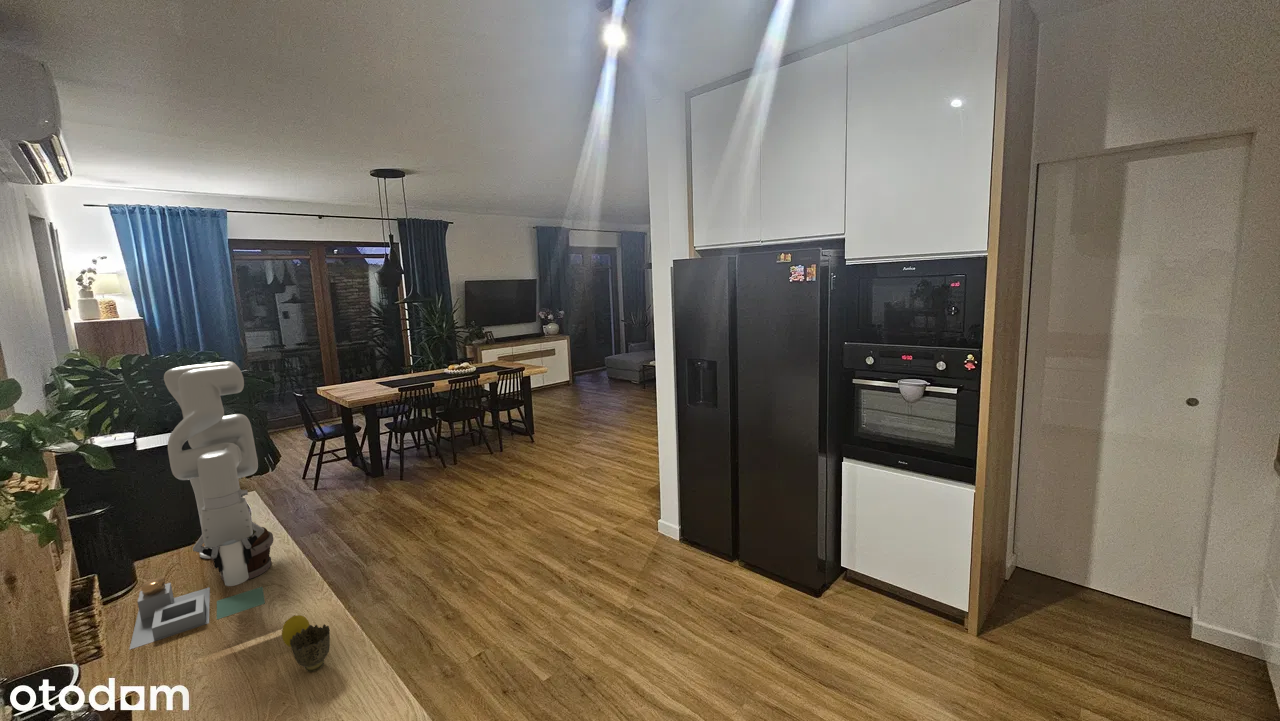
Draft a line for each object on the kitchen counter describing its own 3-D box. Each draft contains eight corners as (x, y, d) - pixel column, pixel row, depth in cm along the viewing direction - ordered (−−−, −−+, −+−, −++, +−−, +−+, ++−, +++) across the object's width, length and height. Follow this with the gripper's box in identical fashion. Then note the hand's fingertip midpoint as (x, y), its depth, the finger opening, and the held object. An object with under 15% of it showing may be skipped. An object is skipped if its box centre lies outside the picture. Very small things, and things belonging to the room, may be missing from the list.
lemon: (283, 658, 121) (278, 626, 119) (286, 644, 126) (281, 613, 124) (311, 650, 123) (307, 618, 122) (313, 636, 128) (308, 605, 127)
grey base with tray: (139, 612, 140) (135, 591, 139) (210, 590, 149) (206, 570, 148) (130, 653, 124) (125, 630, 123) (209, 626, 133) (205, 604, 132)
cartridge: (225, 579, 140) (217, 537, 138) (248, 573, 143) (241, 531, 141) (224, 588, 136) (216, 544, 134) (248, 581, 139) (241, 538, 137)
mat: (217, 604, 142) (216, 600, 142) (263, 589, 148) (262, 586, 148) (217, 623, 134) (216, 619, 134) (265, 606, 140) (265, 603, 140)
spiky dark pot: (341, 655, 121) (337, 623, 120) (319, 680, 114) (314, 647, 113) (310, 654, 122) (306, 622, 121) (286, 679, 115) (281, 645, 113)
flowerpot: (283, 557, 165) (274, 495, 162) (269, 583, 151) (258, 517, 148) (227, 567, 160) (216, 504, 157) (206, 595, 146) (194, 527, 143)
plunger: (146, 605, 139) (142, 582, 138) (169, 598, 142) (164, 576, 141) (145, 613, 136) (140, 590, 135) (167, 606, 138) (163, 583, 137)
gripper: (262, 486, 144) (272, 549, 147) (179, 504, 134) (192, 571, 137) (264, 494, 138) (274, 559, 141) (177, 514, 128) (191, 584, 131)
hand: (234, 565), depth 139 cm, fingers closed on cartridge, 5 cm apart
